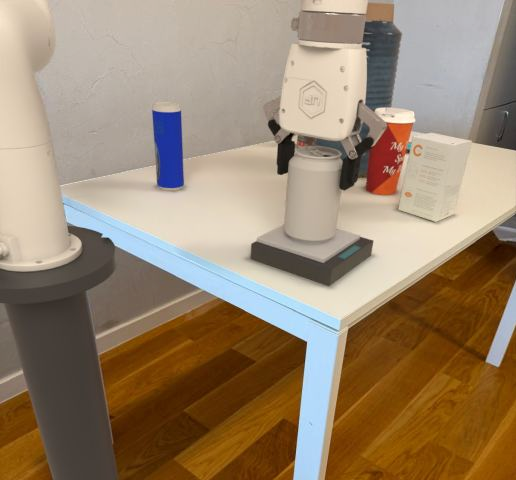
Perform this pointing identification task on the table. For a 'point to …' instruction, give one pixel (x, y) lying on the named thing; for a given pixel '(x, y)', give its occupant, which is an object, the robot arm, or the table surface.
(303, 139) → the pill bottle
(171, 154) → the beverage can
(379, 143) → the coffee cup
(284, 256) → the scale
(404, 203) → the small box
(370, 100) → the vase
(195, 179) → the table surface
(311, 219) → the can
